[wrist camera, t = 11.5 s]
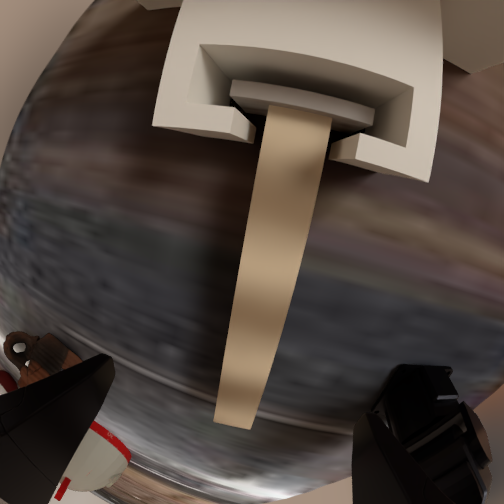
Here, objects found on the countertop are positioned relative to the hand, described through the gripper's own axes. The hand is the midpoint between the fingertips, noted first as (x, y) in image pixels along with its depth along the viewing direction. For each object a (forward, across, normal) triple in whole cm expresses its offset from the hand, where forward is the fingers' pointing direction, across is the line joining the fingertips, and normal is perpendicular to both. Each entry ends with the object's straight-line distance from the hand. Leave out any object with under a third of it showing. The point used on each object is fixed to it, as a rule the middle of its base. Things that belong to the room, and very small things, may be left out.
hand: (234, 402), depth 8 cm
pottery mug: (+12, +22, +18) cm, 31 cm away
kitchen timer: (+11, +21, +36) cm, 43 cm away
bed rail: (+11, 0, +1) cm, 11 cm away
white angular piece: (+11, 0, -13) cm, 17 cm away
